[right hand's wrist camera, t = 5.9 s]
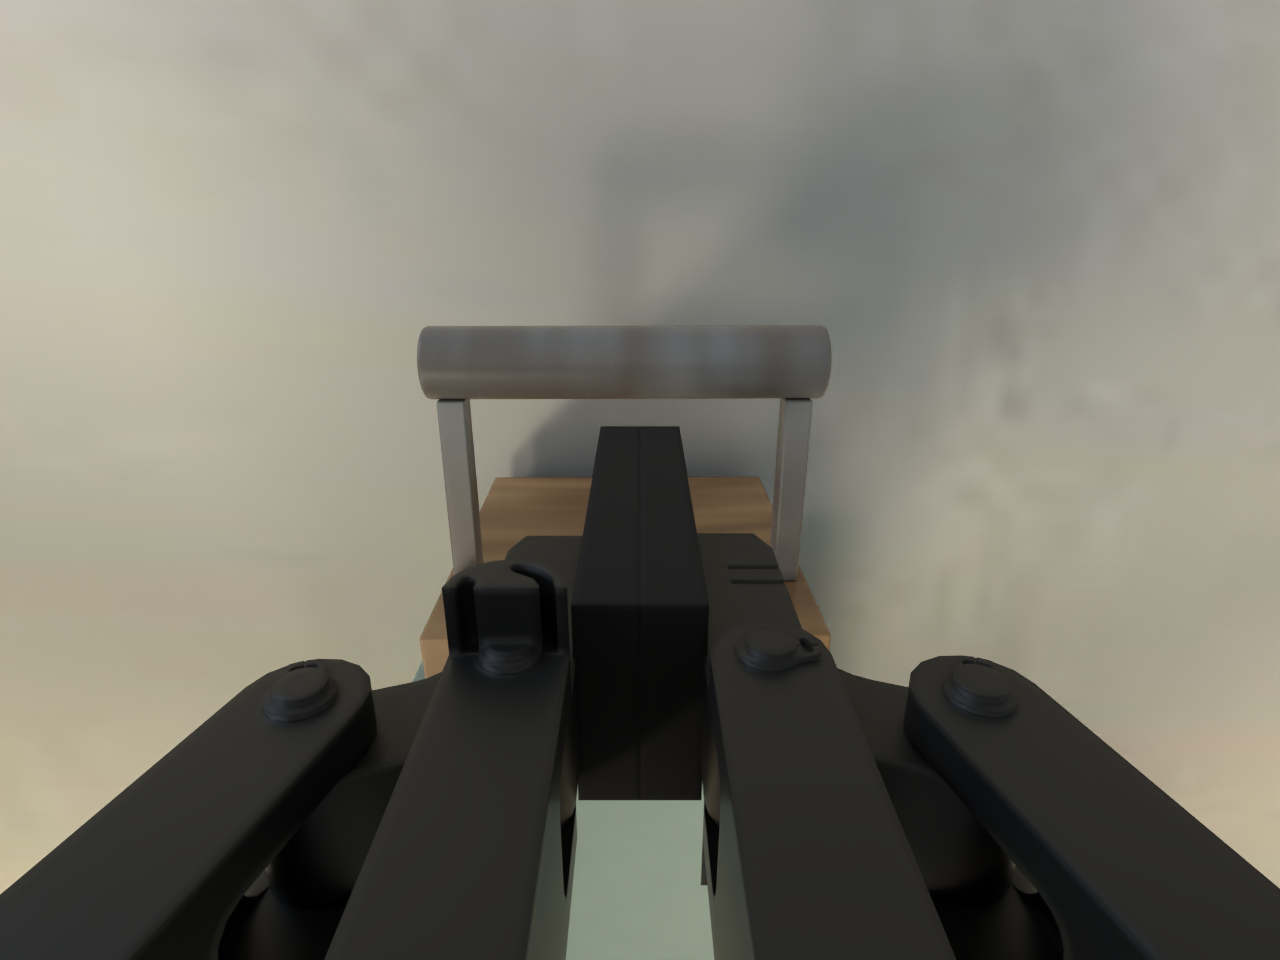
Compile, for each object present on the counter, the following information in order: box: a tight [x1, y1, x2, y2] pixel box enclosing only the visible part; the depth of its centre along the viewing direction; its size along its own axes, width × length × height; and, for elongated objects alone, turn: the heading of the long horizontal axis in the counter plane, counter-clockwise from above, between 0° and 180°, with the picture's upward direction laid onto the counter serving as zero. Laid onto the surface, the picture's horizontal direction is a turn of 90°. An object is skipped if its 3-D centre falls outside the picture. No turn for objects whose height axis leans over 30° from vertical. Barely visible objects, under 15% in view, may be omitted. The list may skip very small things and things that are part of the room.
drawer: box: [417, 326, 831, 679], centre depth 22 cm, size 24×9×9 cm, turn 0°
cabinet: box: [413, 660, 714, 960], centre depth 24 cm, size 19×10×11 cm, turn 0°
